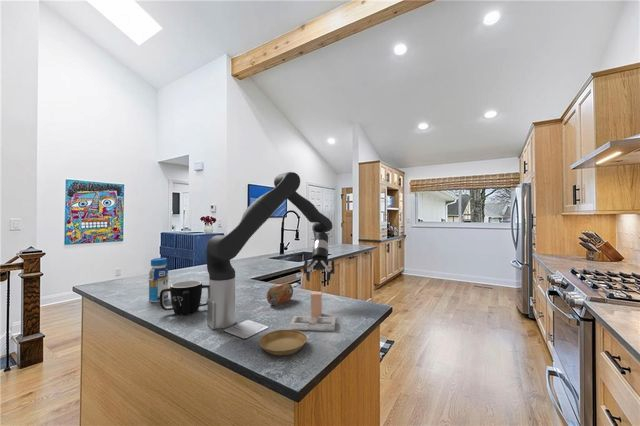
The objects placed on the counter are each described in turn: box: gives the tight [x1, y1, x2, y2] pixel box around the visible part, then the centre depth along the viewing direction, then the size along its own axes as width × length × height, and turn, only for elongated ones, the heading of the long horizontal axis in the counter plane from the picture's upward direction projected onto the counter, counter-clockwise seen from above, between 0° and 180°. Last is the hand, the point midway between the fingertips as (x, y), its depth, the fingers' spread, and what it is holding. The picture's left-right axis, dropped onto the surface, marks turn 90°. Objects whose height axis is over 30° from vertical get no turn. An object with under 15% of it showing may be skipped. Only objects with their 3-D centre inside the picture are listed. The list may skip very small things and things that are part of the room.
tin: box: [266, 282, 294, 307], centre depth 127 cm, size 15×3×8 cm, turn 143°
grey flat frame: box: [289, 315, 336, 332], centre depth 100 cm, size 16×8×2 cm, turn 85°
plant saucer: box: [258, 328, 308, 357], centre depth 84 cm, size 15×15×3 cm
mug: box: [159, 280, 209, 316], centre depth 115 cm, size 16×16×12 cm
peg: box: [310, 291, 323, 317], centre depth 111 cm, size 4×4×9 cm
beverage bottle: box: [148, 257, 170, 303], centre depth 132 cm, size 8×8×20 cm
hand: (318, 280), depth 119 cm, fingers open, 8 cm apart
